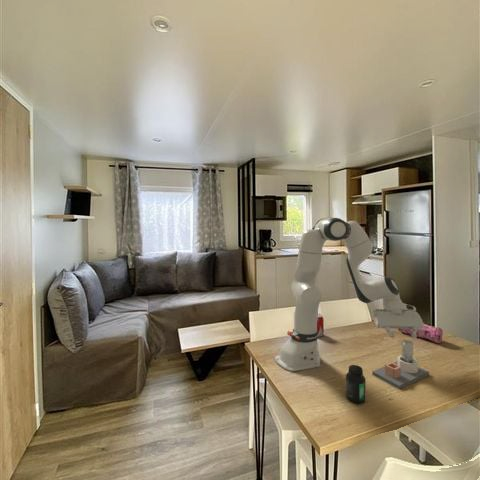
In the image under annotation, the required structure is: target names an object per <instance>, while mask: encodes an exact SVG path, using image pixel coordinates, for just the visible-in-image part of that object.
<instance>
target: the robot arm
mask: <svg viewBox="0 0 480 480" xmlns="http://www.w3.org/2000/svg"><path fill="white" fill-rule="evenodd" d="M326 241H332V242H333V241H334V242H337V241H341V242H343V244H344V246H345V248H346V250H347V254H348V255H347V257H346V265H347V269H348V271H349V272H348V273H349V276H350V277H351V280H352V283H353V286H354V290H355V294H356V297H357V299H358V301H360V302H362V303H364V304H370V303H372V302H374V301H379V300H381V301H382V308H374V310H373V311H372V314H373V317H374V322H375V326H376V327H377V328H378V329H384V330H385V332H386V333H388V335H389V338H395V337H396V335H395V332H392V330H391V329H395V330H396V329H397V330H398V329H411V330H412V331H413V333H412V334H411V335H410V336H411V339H417V337H418V336H416V331H417V329H419V330H420V329H421V328H422V327H423V326H424V325H425V323H424V322H423V319H422V317H421V315H420V314H419V313H418V312H417V308H416V307H415V306H414V305H411V304H407V303H404V302H403V301H402V299H401V298H400V296H401V295H400V289H399V287H398V285H397V283H396V281H395V280H394V279H393V278H391V277H389V276H381V277H378V278H375V279H372V280H369V281H366V282H364V281H363V280H362V278H361V274H360V271H359V267H360V266H361V264H362V263H363V262H365V261H366V260H368V258H369V257H370V256H371V254H372V252H373V247H374V246H373V244H372V242H371V239H370V237H369V236H368V234H367V233H366V231H365V230H364V228H363V227H362V226H361V225H360V224H359V223H358V221H356V220H349V221H344V220H343V219H342V218H339V217H331V216H330V217H324V218H323V217H322V218H320V219H318V221H317V222H316V223H315V224H314V226H313V227H312V229H306V230H305V231H303V233H302V235H301V239H300V241H299V246H298V247H299V248H298V253H297V260H296V262H297V263H296V267H295V272H294V275H293V279H292V283H291V284H290V285H291V293H292V295H293V296H294V297H295V300H296V301H295V309H294V313H293V329H292V331H290V330H288V331H287V333H286V334H287V335H288V336H290V338H289V339H288V340H287V341H286V342H285V343H284V344H283V345H282V346H281V347H280V350H279V354H278V355H277V356H274V361H275V362H276V363H277V364H278V366H279V367H281V368H282V369H284V370H286V371H289V372H296V371H297V372H299V371H303V370H308V369H314V368H318V367H321V363H320V362H321V356H320V351H319V346H318V345H319V344H318V339H319V337H318V331H317V314H319V313H318V312H319V306H320V303H321V302H322V298H323V297H322V293H321V290H320V288H319V287H318V285H316V279H317V275H318V274H319V272H320V270H321V265H322V264H321V263H322V255H323V247H324V244H325V243H326Z"/></svg>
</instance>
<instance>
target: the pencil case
mask: <svg viewBox="0 0 480 480" xmlns="http://www.w3.org/2000/svg"><path fill="white" fill-rule="evenodd" d="M397 330H398V331H399V332H400V333H404V334H406V335H410V336H411V334H412V333H413V331H412V330H411V329H397ZM416 336H417V337H418V338H423V339H426V340H428V341H431V342H434V343H436V344H440V343H442V342H443V341H442V340H443V329H442V328H441V327H439V326H437V327H436V326H430V325H427V324H424V326H423V327H422V328H421V329H420V330H419V329H417V331H416Z"/></svg>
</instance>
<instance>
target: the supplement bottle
mask: <svg viewBox="0 0 480 480" xmlns="http://www.w3.org/2000/svg"><path fill="white" fill-rule="evenodd" d="M363 371H364V370H363V368H362V367H361V366H359V365H357V364H350V365H349V366H348V372H347V373H346V375H345V398H346V399H347V401H348V402H350V403H352V404H354V405H362V404H364V403H365V402H366V386H367V385H366V384H367V383H366V382H367V381H366V380H367V379H366V377H365V375H364V373H363Z"/></svg>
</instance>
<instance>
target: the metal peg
mask: <svg viewBox="0 0 480 480" xmlns="http://www.w3.org/2000/svg"><path fill="white" fill-rule="evenodd" d="M401 343H402V344H401V345H402V347H401V349H402V351H401V352H402V353H401V356H402V361H404V362H406V363H413V358H414V342H413V341H412V340H407V339H405V340H402V342H401Z"/></svg>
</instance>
